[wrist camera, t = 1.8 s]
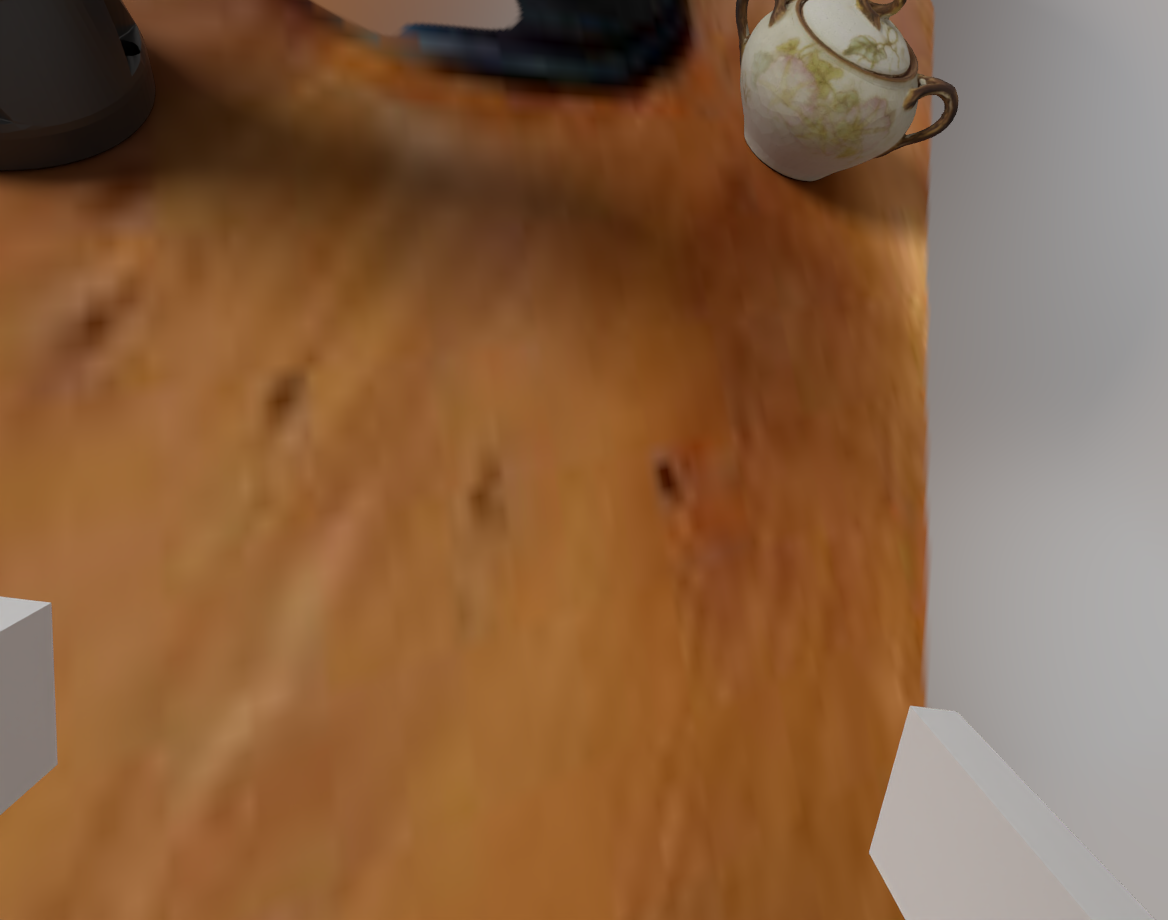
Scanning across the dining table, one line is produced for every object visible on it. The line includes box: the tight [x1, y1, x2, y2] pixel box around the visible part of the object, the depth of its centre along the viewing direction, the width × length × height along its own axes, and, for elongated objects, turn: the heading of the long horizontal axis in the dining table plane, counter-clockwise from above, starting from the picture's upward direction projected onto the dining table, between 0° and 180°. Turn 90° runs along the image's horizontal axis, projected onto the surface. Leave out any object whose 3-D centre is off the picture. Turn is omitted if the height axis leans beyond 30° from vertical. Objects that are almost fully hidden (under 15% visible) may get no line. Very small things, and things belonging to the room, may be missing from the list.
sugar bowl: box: [736, 0, 958, 181], centre depth 54 cm, size 20×15×15 cm
